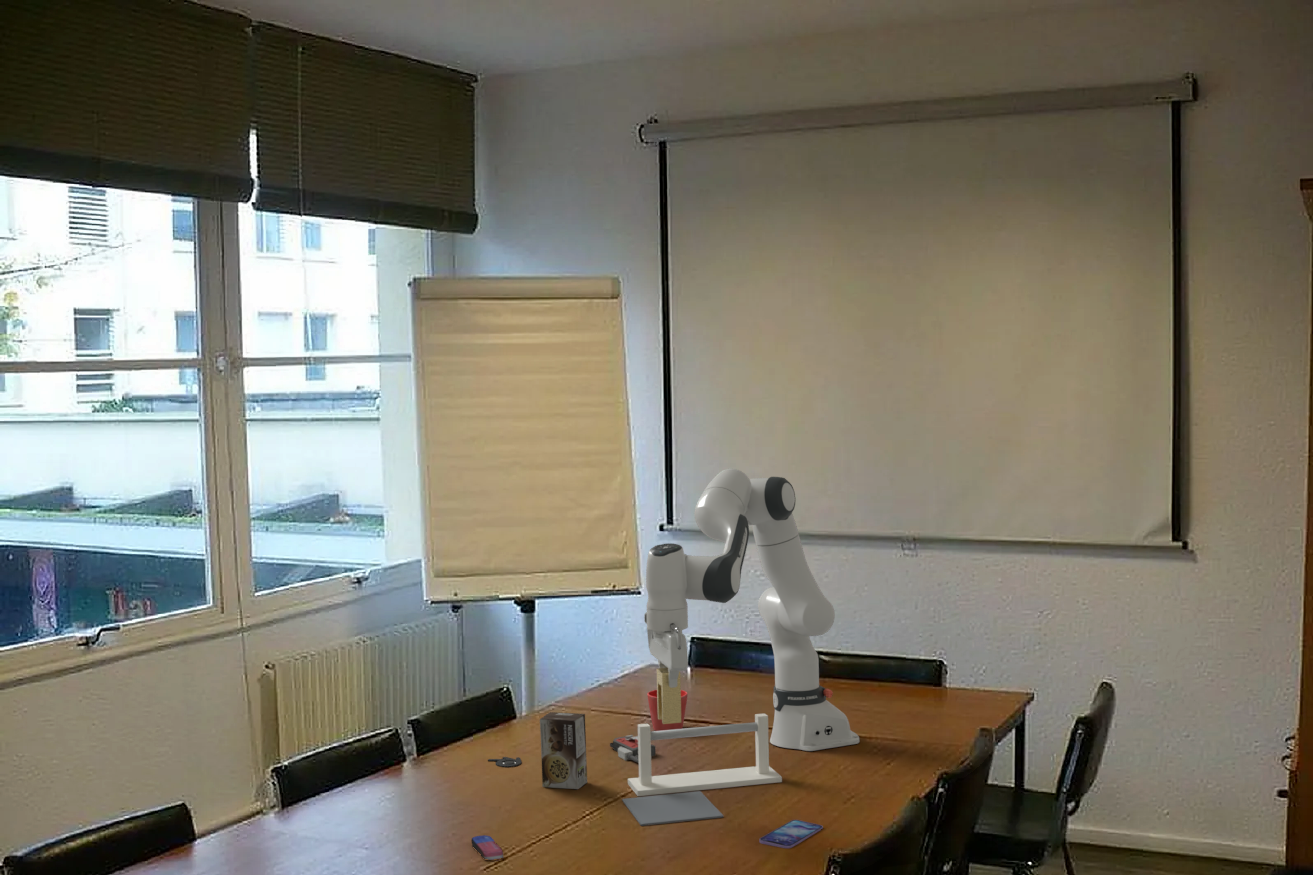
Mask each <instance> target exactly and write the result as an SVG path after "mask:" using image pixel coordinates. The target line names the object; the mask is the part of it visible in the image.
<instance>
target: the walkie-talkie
mask: <svg viewBox="0 0 1313 875" xmlns="http://www.w3.org/2000/svg"><path fill="white" fill-rule="evenodd" d="M609 747H611V748H612V749H613V751H615V752H617V754H618V756H617V757H618V758H620V759H623V760H624V761H625V762H626V761H633V762H635V763H638V764H639V761H638V735H636V736H634V735H633V734H630V735H629V734H628V735H625V736H619V737H615V738H614V739H613V740H612V742H611V743H609ZM656 754H657V753H656V745H654V744H652V743H651V758H652V757H656Z"/></svg>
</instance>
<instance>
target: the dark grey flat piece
mask: <svg viewBox="0 0 1313 875" xmlns="http://www.w3.org/2000/svg"><path fill="white" fill-rule="evenodd" d="M487 762H489V763H491V762H495V766H497V767H499V768H515V767H518V766H521V765H522V759H521V757H515V758H513V757H508V756H502V758H489V759H487Z"/></svg>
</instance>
